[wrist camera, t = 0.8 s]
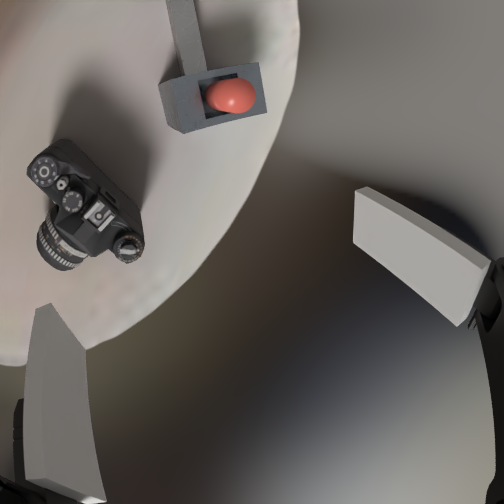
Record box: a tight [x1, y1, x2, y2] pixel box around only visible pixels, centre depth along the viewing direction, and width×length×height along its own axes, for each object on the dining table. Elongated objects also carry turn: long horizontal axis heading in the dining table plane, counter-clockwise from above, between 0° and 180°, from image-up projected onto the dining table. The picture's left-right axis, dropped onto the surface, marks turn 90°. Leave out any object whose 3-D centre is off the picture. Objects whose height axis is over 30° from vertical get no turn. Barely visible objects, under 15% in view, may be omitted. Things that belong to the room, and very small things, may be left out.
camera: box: [27, 139, 145, 271], centre depth 26 cm, size 14×11×10 cm
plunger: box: [205, 78, 256, 113], centre depth 22 cm, size 3×3×4 cm
